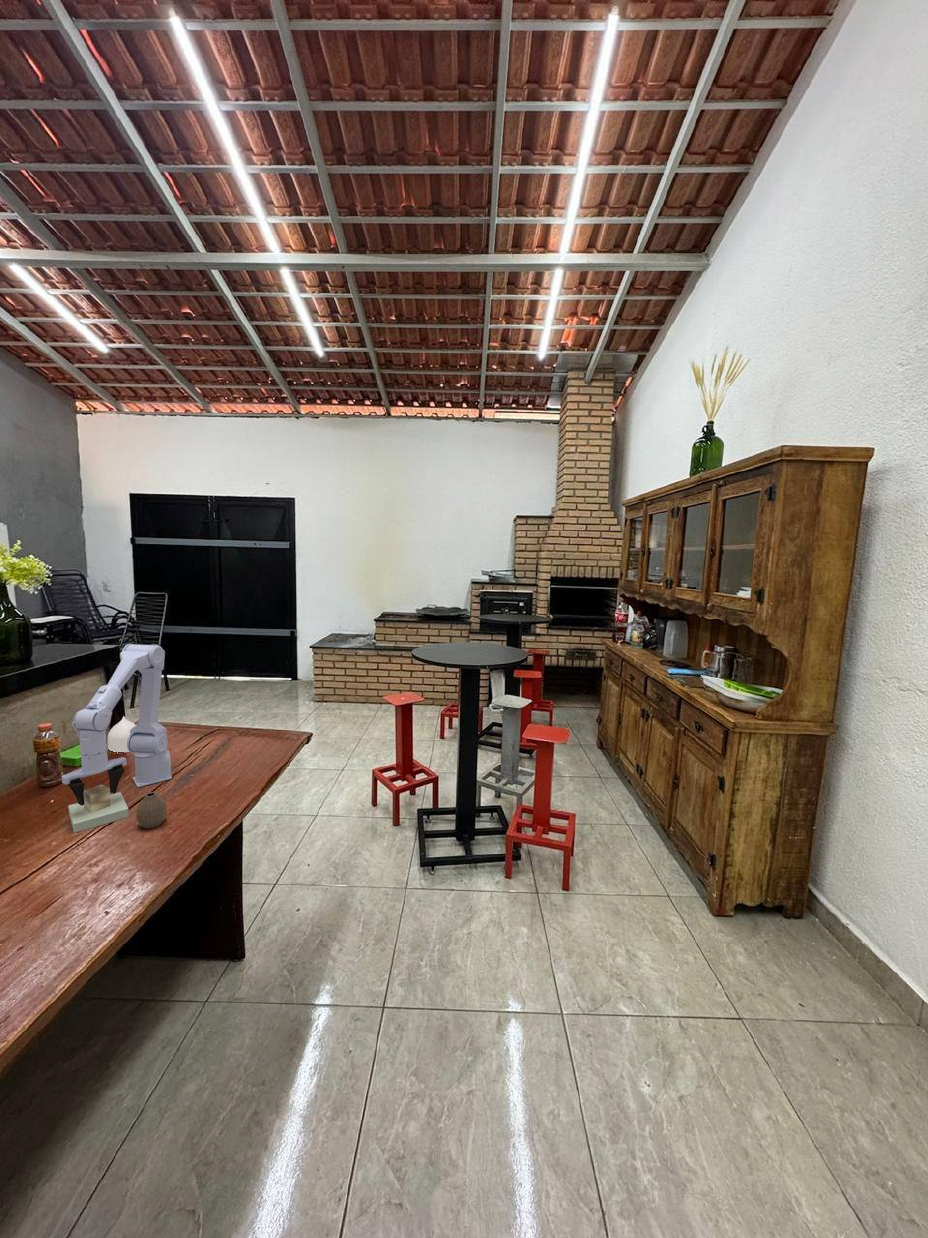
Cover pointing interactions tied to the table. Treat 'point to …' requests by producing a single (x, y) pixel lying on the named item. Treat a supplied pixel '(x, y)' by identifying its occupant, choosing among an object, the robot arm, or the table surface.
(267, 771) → the table surface
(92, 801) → the beech block
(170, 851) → the table surface
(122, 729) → the teardrop
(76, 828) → the base slab
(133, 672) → the robot arm
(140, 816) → the vase
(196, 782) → the table surface
